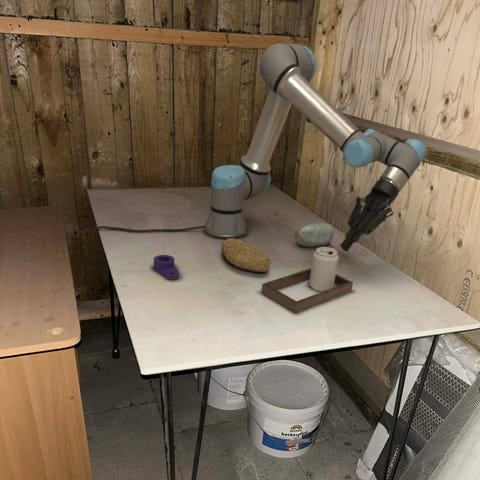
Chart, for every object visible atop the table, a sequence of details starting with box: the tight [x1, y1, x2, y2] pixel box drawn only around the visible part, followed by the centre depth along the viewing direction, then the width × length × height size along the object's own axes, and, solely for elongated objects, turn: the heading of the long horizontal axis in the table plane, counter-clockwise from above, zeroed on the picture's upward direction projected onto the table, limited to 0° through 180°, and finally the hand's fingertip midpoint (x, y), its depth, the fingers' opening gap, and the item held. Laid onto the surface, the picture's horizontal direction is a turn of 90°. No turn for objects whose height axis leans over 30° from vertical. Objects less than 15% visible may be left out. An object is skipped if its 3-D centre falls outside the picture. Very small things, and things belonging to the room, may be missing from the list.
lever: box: [153, 254, 180, 281], centre depth 146 cm, size 12×6×3 cm, turn 29°
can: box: [308, 246, 340, 292], centre depth 142 cm, size 8×8×12 cm
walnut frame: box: [261, 267, 354, 314], centre depth 141 cm, size 24×14×3 cm, turn 129°
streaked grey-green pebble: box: [295, 221, 335, 248], centre depth 172 cm, size 14×10×10 cm
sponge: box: [221, 238, 272, 273], centre depth 154 cm, size 13×8×20 cm
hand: (343, 248), depth 143 cm, fingers closed
